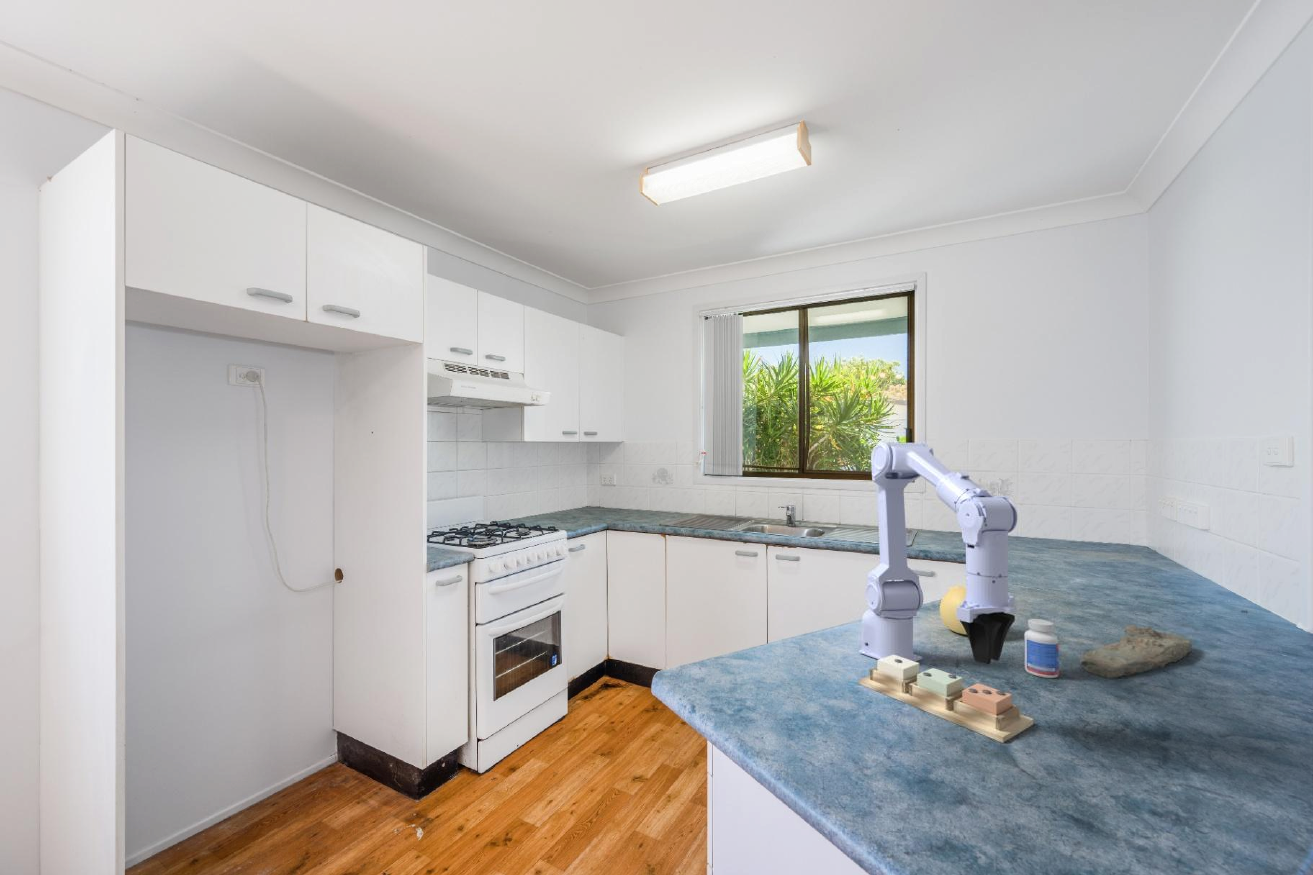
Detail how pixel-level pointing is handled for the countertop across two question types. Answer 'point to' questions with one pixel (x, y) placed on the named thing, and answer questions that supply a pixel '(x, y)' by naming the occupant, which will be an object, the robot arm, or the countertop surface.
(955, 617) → the sculpture
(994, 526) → the robot arm
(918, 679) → the tile two
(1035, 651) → the pill bottle
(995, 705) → the tile three
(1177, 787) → the countertop surface
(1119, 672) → the long grey stone
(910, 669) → the tile one
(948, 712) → the tile board
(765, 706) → the countertop surface
